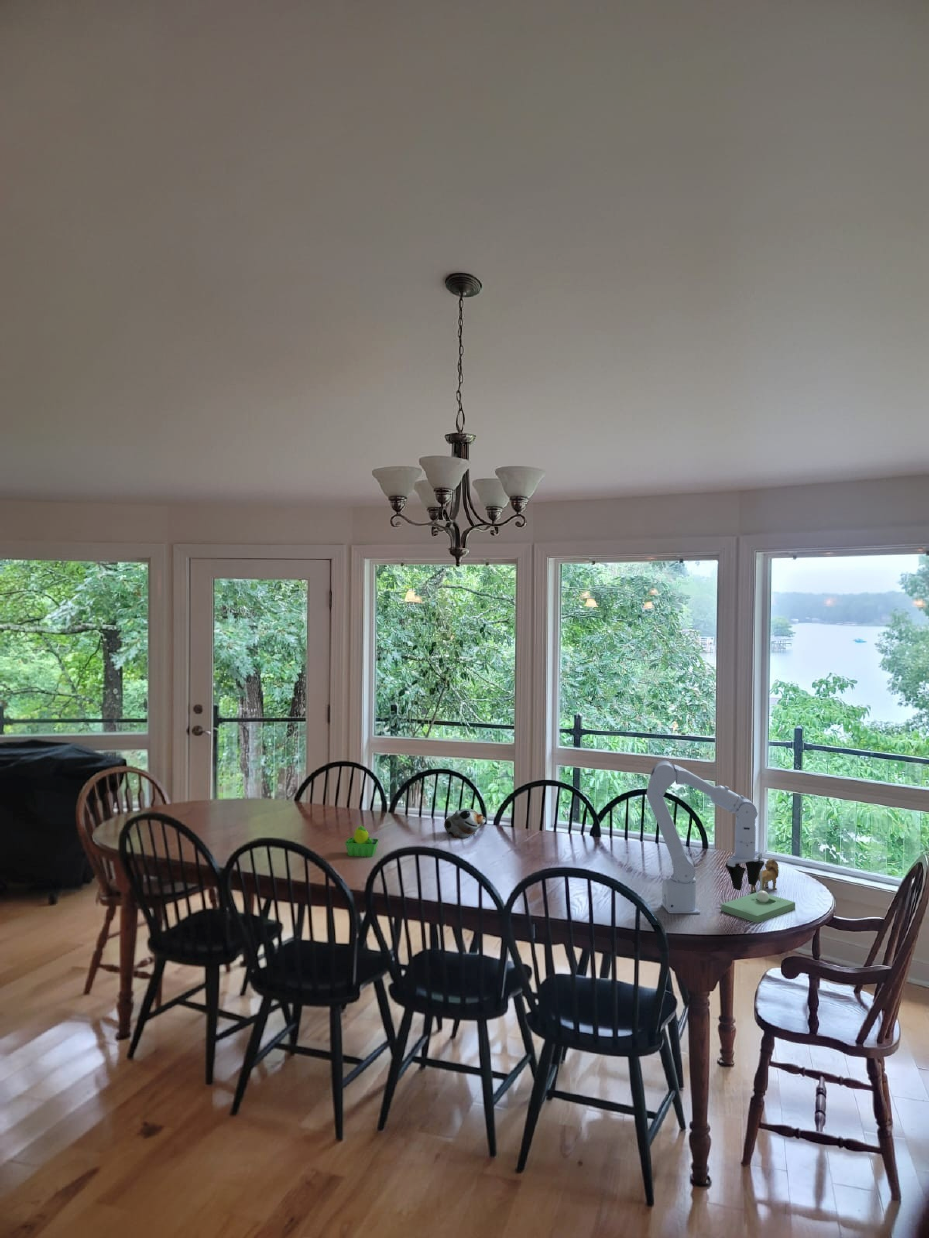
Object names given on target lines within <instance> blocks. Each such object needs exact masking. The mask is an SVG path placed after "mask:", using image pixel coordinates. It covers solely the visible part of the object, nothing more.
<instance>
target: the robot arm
mask: <svg viewBox="0 0 929 1238" xmlns="http://www.w3.org/2000/svg"><path fill="white" fill-rule="evenodd" d="M649 776H650V777H649V780H648V784H647V789H646V797H647V801H648V803H649V805H650V807H651V810H652V812H653V815H654V818H655V821H656V823H657V825H658V828H659V831H660V832H661V835H662V838H663V840H664V843H665V845H666V848H667V850H668V853H669V856H670V859H671V865H672V869H673V870H672V871H673V872H672V874H671V875H670V877H669V878H667V879H666V878H665V879H663V880H662V884H661V885H662V886H661V887H662V888H661V889H662V891H661V892H662V894H661V895H662V896H661V897H662V898H661V899H662V901H661V906H662V907H663V908H664V909H665V910H666V912H667V913H669V914H701V911H700V910H699V908H698V907H696V906H697V904H696V903H697V902H696V901H697V900H696V899H697V897H696V896H697V895H696V894H697V893H696V892H697V890H696V888H697V887H696V886H697V883H696V881H697V879H696V878H697V877H696V868H695V866H694V861H693V858H692V857H691V856H690V855H689V854H688V853H687V851H686V849H685V846H684V845H683V843H682V840H681V838H680V835H679V833H678V830H677V828H676V826H675V822H674V820H673V817H672V815H671V812H670V810H669V808H668V805H667V803H666V800H665V798H664V796H665V794H666V793H667V790H668V789H669V788H670V787H671V786H672V785H673V784H674V783H675V785H677V786H678V785H688V786H690V787H691V788H694V789H696V790H697V791H700V792H701V793H704V794H705V795H706V796H709V798H710V801H711V803H713V804H714V805H717V806H719V807H720V808H721V809H724V810H726V811H727V812H729V813H732V814H736V815H735V824H734V825H735V826H734V854H733V855H731V857H729V858H727V862H726V863H725V869H726V870H727V872H728V874H729V876H730V879H731V883H732V887H733V890H736V891H742V888H743V877H744V874H745V871H746V875H747V883H748V885H750V886H751V885H754V886H755V887H756V886H757V883H758V881H757V879H758V876H759V873H760V871H762V868H763V867H764V866H765V861H764V860H762V859H763V853H762V852H761V851H757V850H756V830H757V829H756V819H757V817H758V816H759V815H758V814H759V813H758V810H757V808H756V806H755V803H753V802H752V801H751V800H750V799H749V798H748V797H745V796H744V795H742V794H737V793H736V792H734V791H732V790H730V787H729V786H727V785H724V786H723V785H716V786H714V785H713V784H711V783H709V782H708V781H706V780H704V779H702V778H701V777H699V776H698V775H696V774H694V773H692V772H691V771H689V770H688V769H685V768H683V767H682V766H679V765H677V764H672V762H670V761H668V760H659V761H658V762H657V763H656V764H655V765H654V766H653V768H652V770H651V771H650V775H649ZM741 864H745V867H746V868H745V867H742V866H741Z"/></svg>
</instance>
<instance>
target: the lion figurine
mask: <svg viewBox="0 0 929 1238" xmlns="http://www.w3.org/2000/svg"><path fill="white" fill-rule="evenodd" d="M764 867H765V870H766V869H767V876H765V877H762V890H763V891H766V892H767V893H768V891H767V890H765V887H768V888H769V886H770V885H769V882H772V890H773V891H777V890H778V889H777V888H776V885H777V879H778V878H779V873H780V872H779V871H780V870H779V863H778V861H776V859H774V858H773V859H772V858H769V859H767V860H766V863H764ZM757 882H759V883H760V873H759V876H758V879H757ZM756 892H757V888H756V885H755V886H754V885H751V884H750V893H756Z"/></svg>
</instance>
